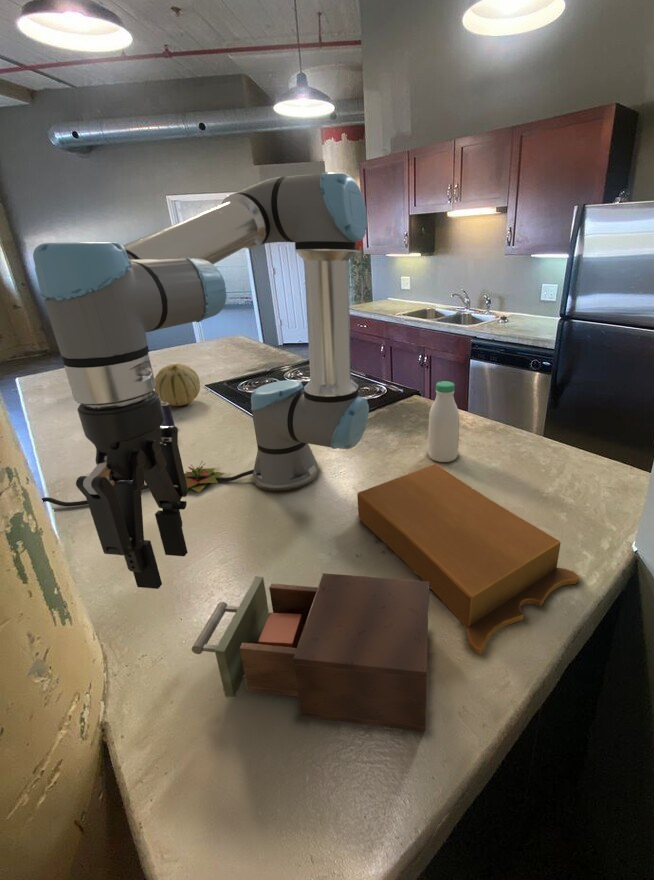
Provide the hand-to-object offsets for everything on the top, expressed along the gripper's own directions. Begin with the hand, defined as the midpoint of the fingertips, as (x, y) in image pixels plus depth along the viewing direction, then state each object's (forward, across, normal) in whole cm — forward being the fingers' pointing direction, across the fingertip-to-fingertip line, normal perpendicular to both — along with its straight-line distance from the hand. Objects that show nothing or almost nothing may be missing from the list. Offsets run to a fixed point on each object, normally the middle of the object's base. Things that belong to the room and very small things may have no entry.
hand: (163, 568), depth 53 cm
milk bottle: (+15, +60, -36) cm, 72 cm away
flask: (+15, +69, +49) cm, 86 cm away
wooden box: (+15, +25, -38) cm, 47 cm away
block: (+13, 0, -14) cm, 19 cm away
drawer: (+14, 0, -13) cm, 19 cm away
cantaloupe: (+15, +90, +56) cm, 107 cm away
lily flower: (+15, +42, +22) cm, 50 cm away
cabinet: (+15, 0, -26) cm, 30 cm away
